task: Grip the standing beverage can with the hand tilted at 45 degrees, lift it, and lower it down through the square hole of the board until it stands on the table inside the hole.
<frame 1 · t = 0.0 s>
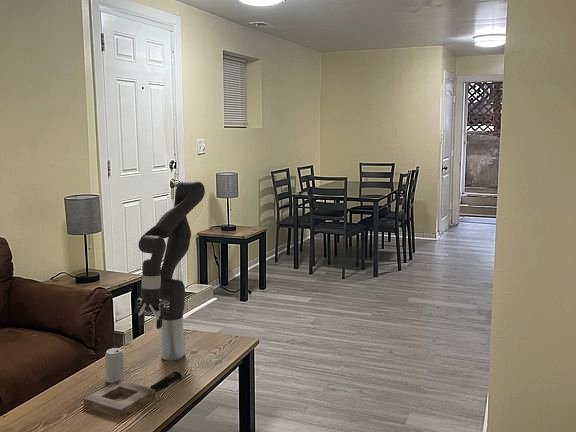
hand: (150, 326, 227), 17 cm above the table, tool pointing down, fingers open, 8 cm apart
beverage can: (115, 381, 217), on the table
hole board: (120, 402, 200), on the table
electric trimmer: (166, 385, 215), on the table
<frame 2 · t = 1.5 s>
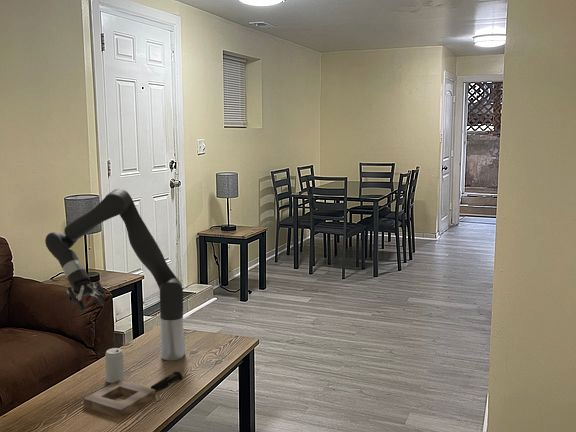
hand: (93, 307, 224), 25 cm above the table, tool tilted 45°, fingers open, 8 cm apart
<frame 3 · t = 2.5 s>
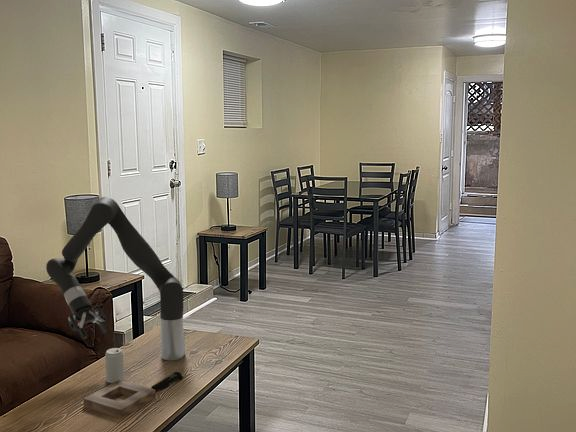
hand: (95, 334, 222), 16 cm above the table, tool tilted 45°, fingers open, 8 cm apart
nothing on the table moved.
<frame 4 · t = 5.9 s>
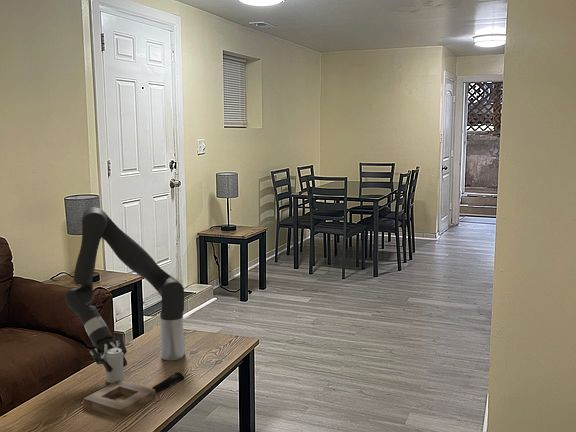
hand: (118, 368, 216), 5 cm above the table, tool tilted 45°, fingers closed on beverage can, 5 cm apart
beverage can: (115, 381, 217), on the table, touching gripper
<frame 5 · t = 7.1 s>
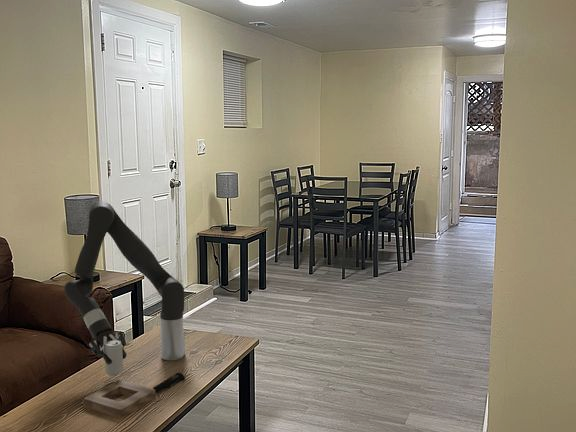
hand: (117, 360, 215), 8 cm above the table, tool tilted 45°, fingers closed on beverage can, 5 cm apart
beverage can: (114, 373, 217), point 3 cm above the table, touching gripper
when the fingers open (7 cm above the table, at t = 11.8 s): beverage can drops 1 cm, resting in hole board.
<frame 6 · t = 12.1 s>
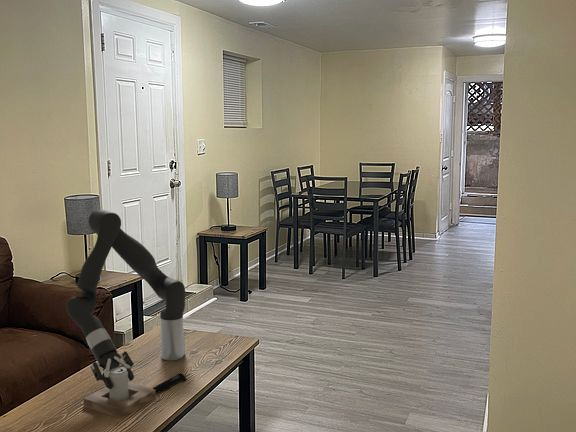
hand: (122, 383, 199), 7 cm above the table, tool tilted 45°, fingers open, 8 cm apart
beverage can: (119, 402, 200), resting in hole board
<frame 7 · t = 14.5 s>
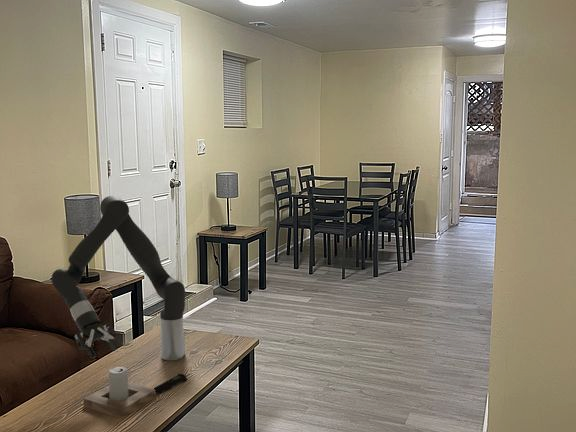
hand: (105, 353, 203), 16 cm above the table, tool tilted 45°, fingers open, 8 cm apart
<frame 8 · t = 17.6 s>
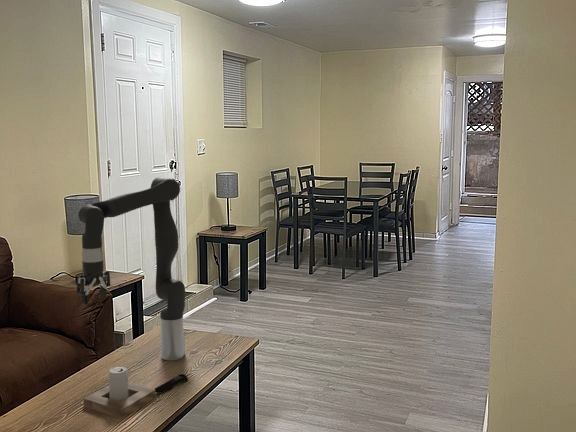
hand: (94, 301, 216), 30 cm above the table, tool pointing down, fingers open, 8 cm apart
at the end: beverage can 0.4 cm off-centre on the hole board, point 0.0 cm above the hole board's base; beverage can tilted 0°; the gripper is holding nothing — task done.
